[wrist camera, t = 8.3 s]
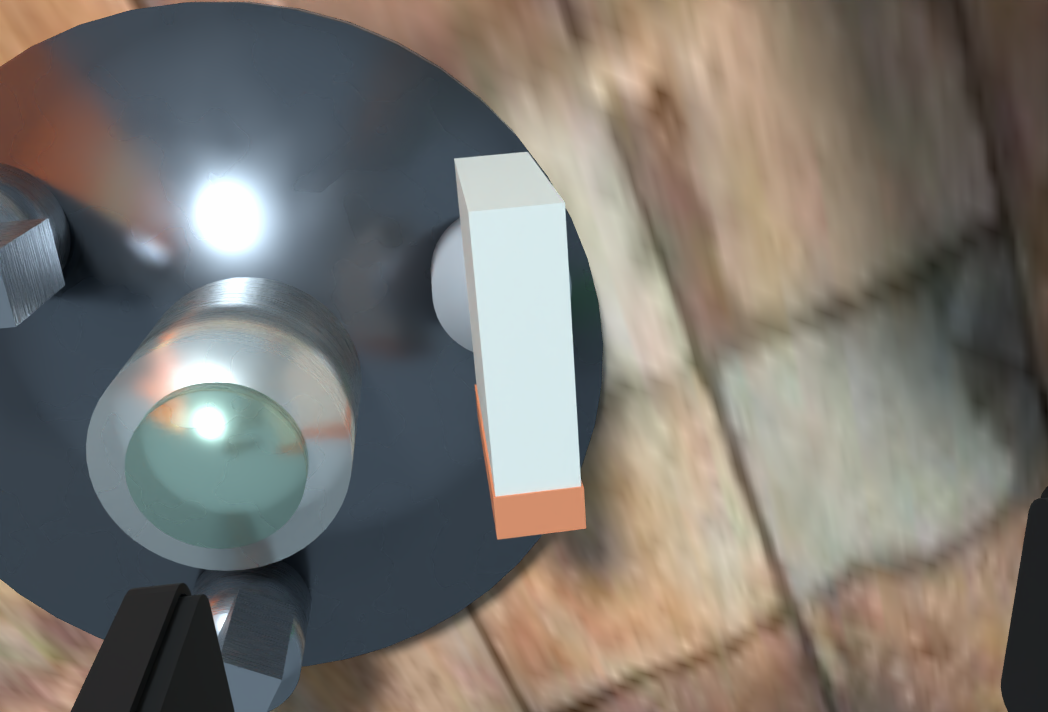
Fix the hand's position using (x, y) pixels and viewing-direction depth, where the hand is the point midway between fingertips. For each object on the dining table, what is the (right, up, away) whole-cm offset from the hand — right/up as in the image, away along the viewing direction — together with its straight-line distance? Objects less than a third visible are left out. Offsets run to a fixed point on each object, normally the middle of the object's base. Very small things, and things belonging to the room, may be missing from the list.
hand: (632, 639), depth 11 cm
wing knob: (-2, +6, +15) cm, 17 cm away
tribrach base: (-9, +3, +17) cm, 20 cm away
